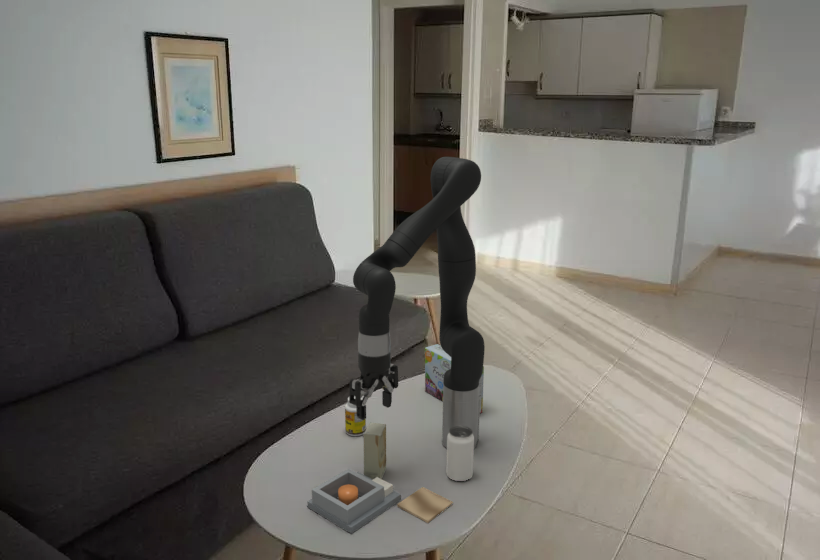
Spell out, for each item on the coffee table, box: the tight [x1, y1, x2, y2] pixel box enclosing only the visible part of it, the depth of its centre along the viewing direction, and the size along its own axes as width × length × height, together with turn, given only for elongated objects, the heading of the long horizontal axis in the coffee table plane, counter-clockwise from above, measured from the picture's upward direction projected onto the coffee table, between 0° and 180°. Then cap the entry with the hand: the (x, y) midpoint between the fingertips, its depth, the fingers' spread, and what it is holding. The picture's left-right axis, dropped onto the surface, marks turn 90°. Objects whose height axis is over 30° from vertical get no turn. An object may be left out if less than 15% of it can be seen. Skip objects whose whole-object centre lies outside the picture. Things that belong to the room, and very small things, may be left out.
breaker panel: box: [307, 467, 402, 534], centre depth 151 cm, size 16×14×5 cm
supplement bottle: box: [344, 396, 367, 437], centre depth 181 cm, size 6×6×10 cm
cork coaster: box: [396, 486, 454, 524], centre depth 151 cm, size 9×9×1 cm
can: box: [446, 426, 475, 482], centre depth 161 cm, size 6×6×12 cm
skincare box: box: [362, 421, 387, 480], centre depth 162 cm, size 6×4×12 cm
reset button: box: [337, 484, 359, 505], centre depth 149 cm, size 4×4×3 cm
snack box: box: [424, 343, 485, 414], centre depth 198 cm, size 21×6×15 cm, turn 38°
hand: (374, 412), depth 159 cm, fingers open, 8 cm apart
